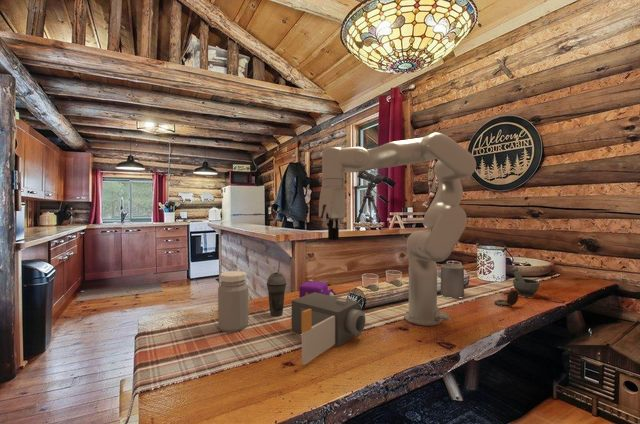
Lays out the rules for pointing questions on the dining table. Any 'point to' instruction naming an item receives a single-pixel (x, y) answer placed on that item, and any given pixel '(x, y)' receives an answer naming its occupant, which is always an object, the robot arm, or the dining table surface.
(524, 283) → the mortar and pestle
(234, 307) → the jar
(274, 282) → the beverage cup
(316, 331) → the door
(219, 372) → the dining table surface
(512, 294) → the compass
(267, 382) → the dining table surface
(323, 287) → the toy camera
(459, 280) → the grey canister
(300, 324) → the camera body
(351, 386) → the dining table surface
